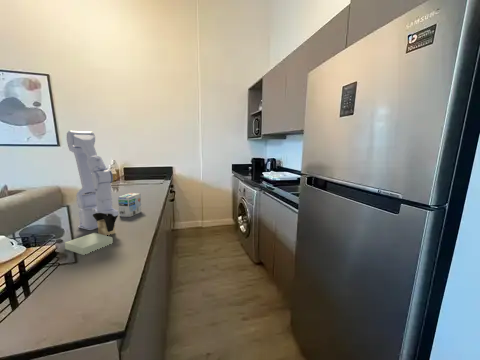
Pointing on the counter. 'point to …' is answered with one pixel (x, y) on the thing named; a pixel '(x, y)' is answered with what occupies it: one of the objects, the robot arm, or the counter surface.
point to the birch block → (104, 228)
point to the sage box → (88, 243)
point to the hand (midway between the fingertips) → (106, 230)
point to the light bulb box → (129, 204)
